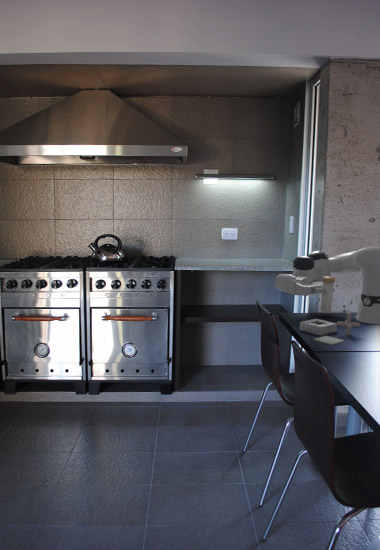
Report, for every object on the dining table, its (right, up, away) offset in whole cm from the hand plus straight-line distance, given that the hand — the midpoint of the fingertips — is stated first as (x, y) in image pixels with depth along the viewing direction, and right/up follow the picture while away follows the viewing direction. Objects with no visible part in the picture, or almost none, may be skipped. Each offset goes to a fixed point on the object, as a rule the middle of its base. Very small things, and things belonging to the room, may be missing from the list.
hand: (329, 290), depth 195 cm
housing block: (0, -20, +17) cm, 26 cm away
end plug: (-1, -9, +3) cm, 9 cm away
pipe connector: (+12, -21, +12) cm, 27 cm away
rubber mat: (0, -22, +1) cm, 22 cm away
